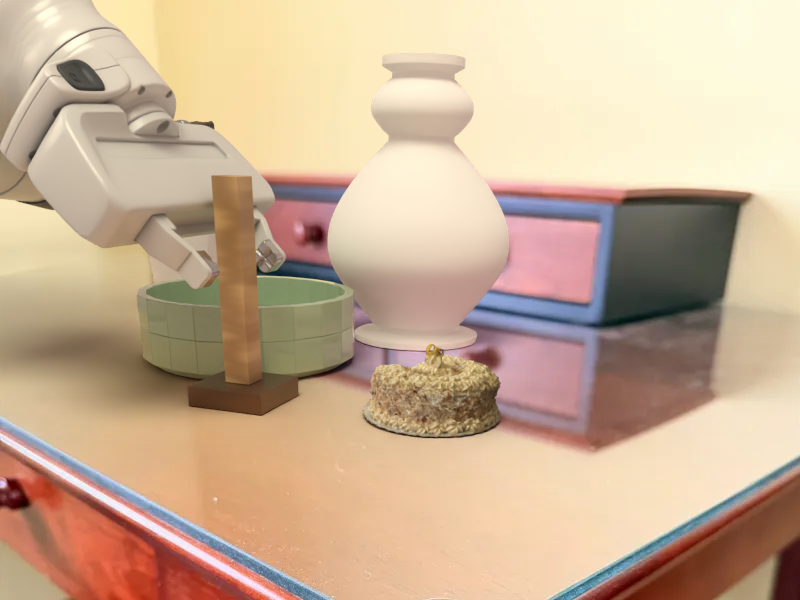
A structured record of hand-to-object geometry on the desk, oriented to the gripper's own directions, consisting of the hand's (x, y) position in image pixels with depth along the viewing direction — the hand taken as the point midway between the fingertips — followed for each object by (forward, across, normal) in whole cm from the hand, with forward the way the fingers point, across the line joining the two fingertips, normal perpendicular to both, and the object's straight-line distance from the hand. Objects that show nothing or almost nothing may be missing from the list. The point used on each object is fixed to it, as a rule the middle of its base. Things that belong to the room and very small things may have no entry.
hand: (245, 273), depth 58 cm
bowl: (+1, -12, -12) cm, 17 cm away
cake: (+16, -2, +3) cm, 17 cm away
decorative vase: (+9, -28, -4) cm, 30 cm away
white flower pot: (-10, -27, -23) cm, 37 cm away
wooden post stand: (+6, 0, -7) cm, 9 cm away
